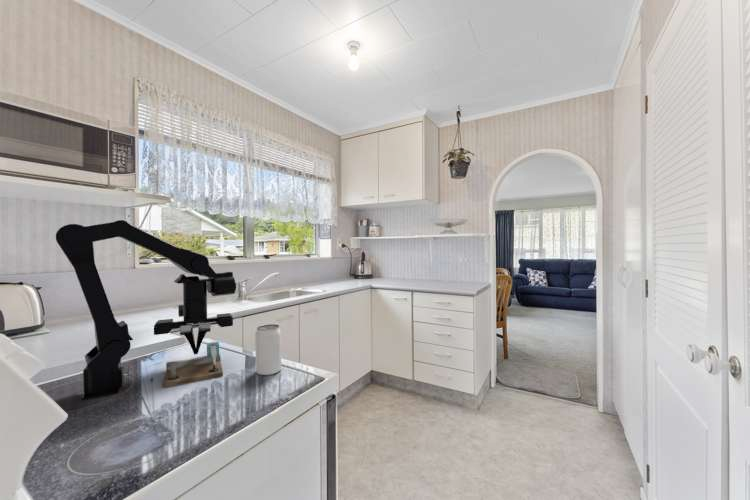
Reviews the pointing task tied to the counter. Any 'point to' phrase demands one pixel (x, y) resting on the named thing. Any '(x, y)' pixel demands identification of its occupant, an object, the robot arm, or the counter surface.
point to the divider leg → (213, 352)
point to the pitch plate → (191, 370)
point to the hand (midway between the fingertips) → (195, 353)
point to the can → (268, 349)
